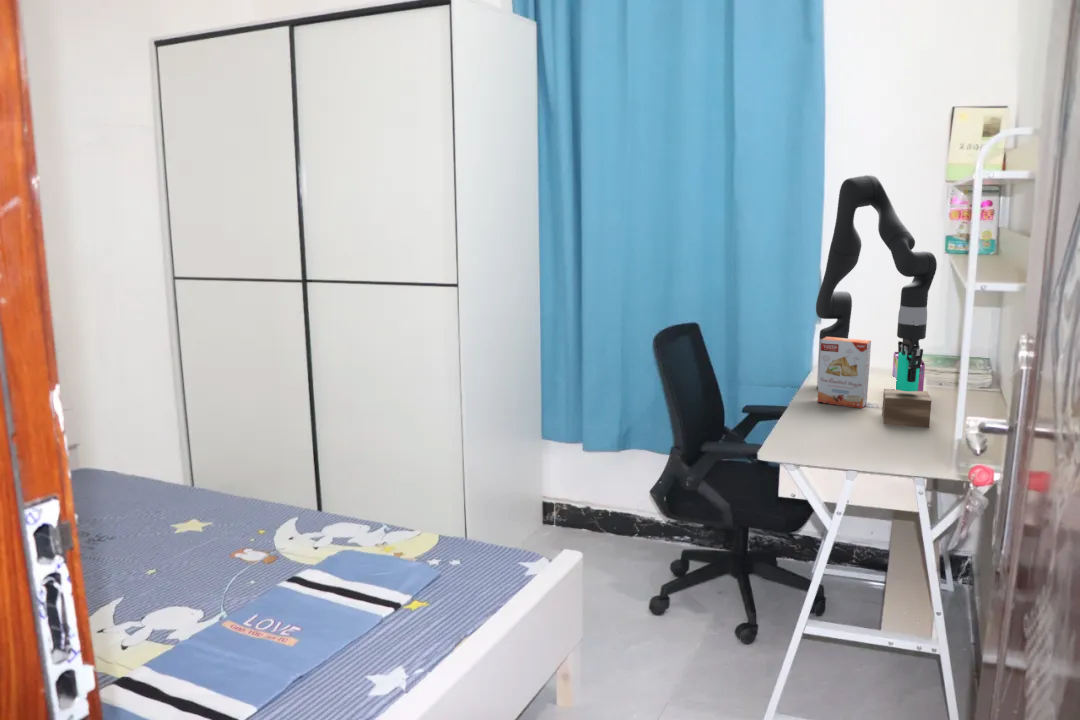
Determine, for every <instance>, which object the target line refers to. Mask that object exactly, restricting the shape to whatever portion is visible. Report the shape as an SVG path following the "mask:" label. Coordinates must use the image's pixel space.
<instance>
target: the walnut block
mask: <svg viewBox="0 0 1080 720" xmlns="http://www.w3.org/2000/svg"><path fill="white" fill-rule="evenodd" d="M882 394H883V395H882V409H881V416H882V422H883V425H889V426H890V425H891V426H904V427H905V426H906V427H914V428H916V427H918V428H930V423H931V422H930V421H931V420H930V419H931V410H932V399H931V397H930V394H929V392H928V391H925V390H923V391H901V390H895V389H891V388H884V389H883V393H882Z"/></svg>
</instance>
